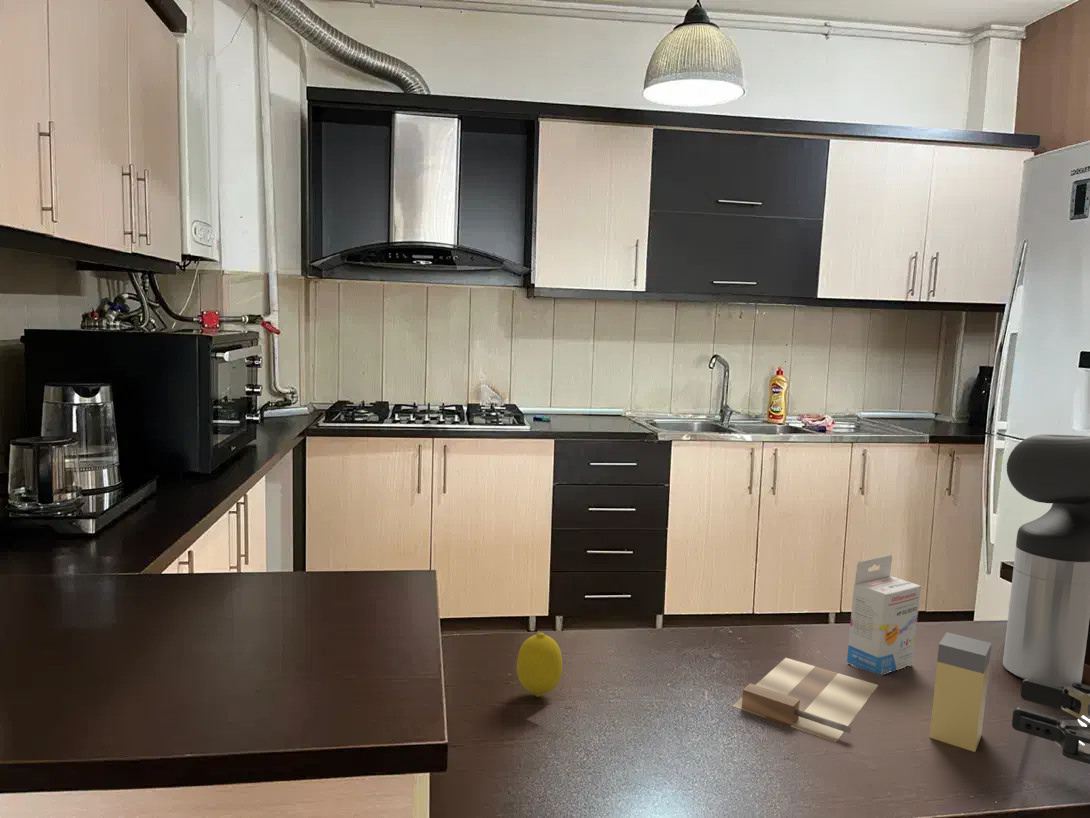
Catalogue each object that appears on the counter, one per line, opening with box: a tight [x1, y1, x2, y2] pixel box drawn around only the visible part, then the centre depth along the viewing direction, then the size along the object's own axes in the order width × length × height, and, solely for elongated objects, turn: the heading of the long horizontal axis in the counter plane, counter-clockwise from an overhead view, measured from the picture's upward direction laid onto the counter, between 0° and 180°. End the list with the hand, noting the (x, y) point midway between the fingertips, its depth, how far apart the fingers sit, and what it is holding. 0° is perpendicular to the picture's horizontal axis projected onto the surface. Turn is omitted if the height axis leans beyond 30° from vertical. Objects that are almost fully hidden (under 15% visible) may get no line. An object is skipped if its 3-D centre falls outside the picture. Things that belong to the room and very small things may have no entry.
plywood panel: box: [731, 657, 879, 743], centre depth 94 cm, size 18×12×1 cm, turn 143°
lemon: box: [516, 632, 563, 698], centre depth 93 cm, size 6×6×8 cm
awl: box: [741, 682, 852, 734], centre depth 88 cm, size 2×12×2 cm, turn 53°
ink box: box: [846, 554, 922, 676], centre depth 106 cm, size 8×5×15 cm, turn 123°
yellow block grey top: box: [929, 631, 992, 753], centre depth 86 cm, size 4×4×12 cm
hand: (1017, 702), depth 82 cm, fingers open, 8 cm apart
